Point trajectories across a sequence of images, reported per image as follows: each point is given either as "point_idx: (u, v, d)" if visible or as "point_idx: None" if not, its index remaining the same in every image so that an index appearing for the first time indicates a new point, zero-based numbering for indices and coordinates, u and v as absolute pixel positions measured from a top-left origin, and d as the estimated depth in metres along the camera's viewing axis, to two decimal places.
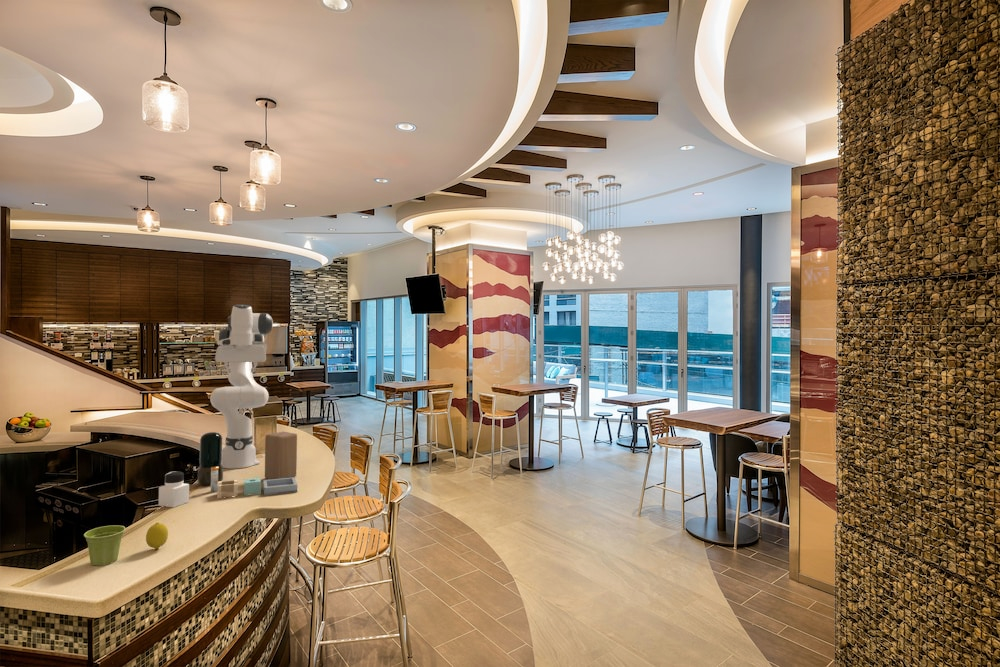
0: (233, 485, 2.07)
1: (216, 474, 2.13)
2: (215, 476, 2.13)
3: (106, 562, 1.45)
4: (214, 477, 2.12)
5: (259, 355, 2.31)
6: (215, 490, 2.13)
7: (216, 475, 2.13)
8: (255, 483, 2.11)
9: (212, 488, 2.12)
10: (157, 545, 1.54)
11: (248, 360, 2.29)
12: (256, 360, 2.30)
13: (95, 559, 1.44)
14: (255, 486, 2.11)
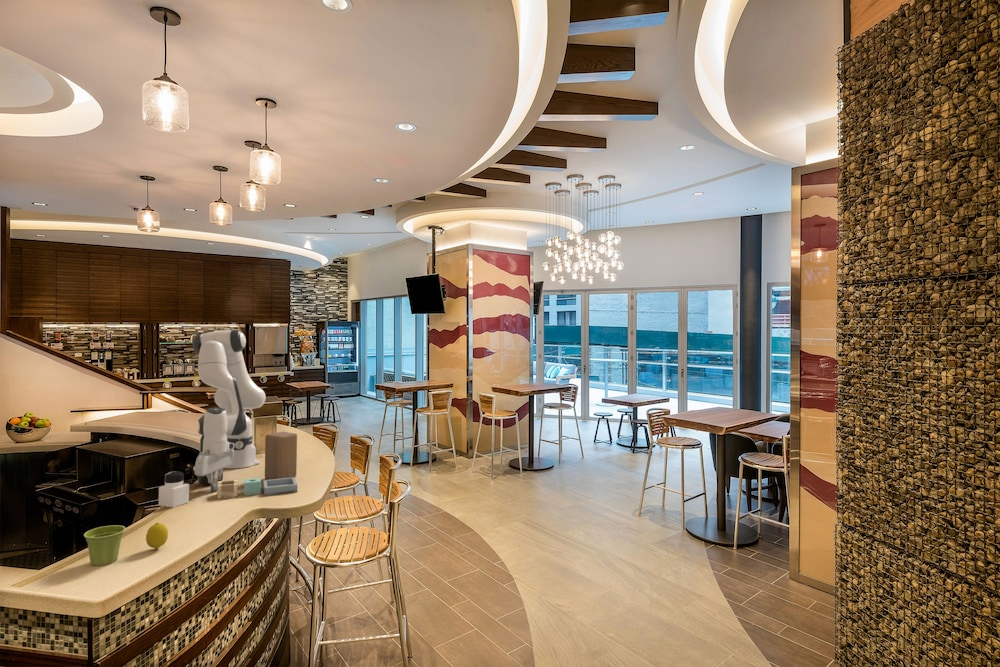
0: (233, 485, 2.07)
1: (216, 474, 2.13)
2: (215, 476, 2.13)
3: (106, 562, 1.45)
4: (214, 477, 2.12)
5: None
6: (215, 490, 2.13)
7: (216, 475, 2.13)
8: (255, 483, 2.11)
9: (212, 488, 2.12)
10: (157, 545, 1.54)
11: None
12: None
13: (95, 559, 1.44)
14: (255, 486, 2.11)
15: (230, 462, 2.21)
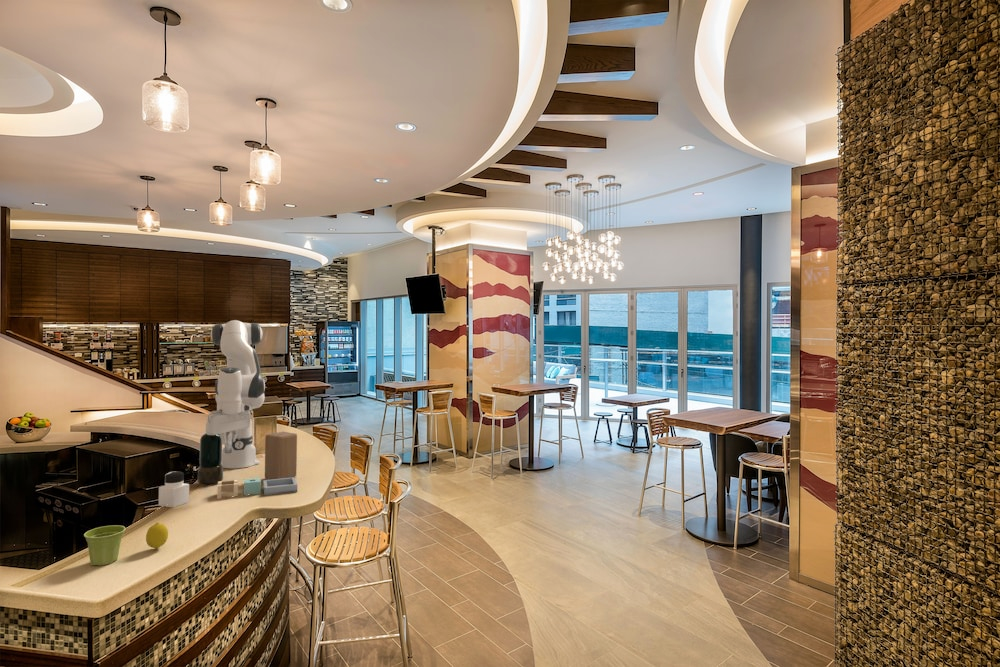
0: (233, 485, 2.07)
1: (230, 436, 2.08)
2: (229, 437, 2.08)
3: (106, 562, 1.45)
4: (228, 438, 2.08)
5: None
6: (229, 451, 2.08)
7: (230, 436, 2.08)
8: (255, 483, 2.11)
9: (226, 449, 2.08)
10: (157, 545, 1.54)
11: None
12: None
13: (95, 559, 1.44)
14: (255, 486, 2.11)
15: (246, 425, 2.16)
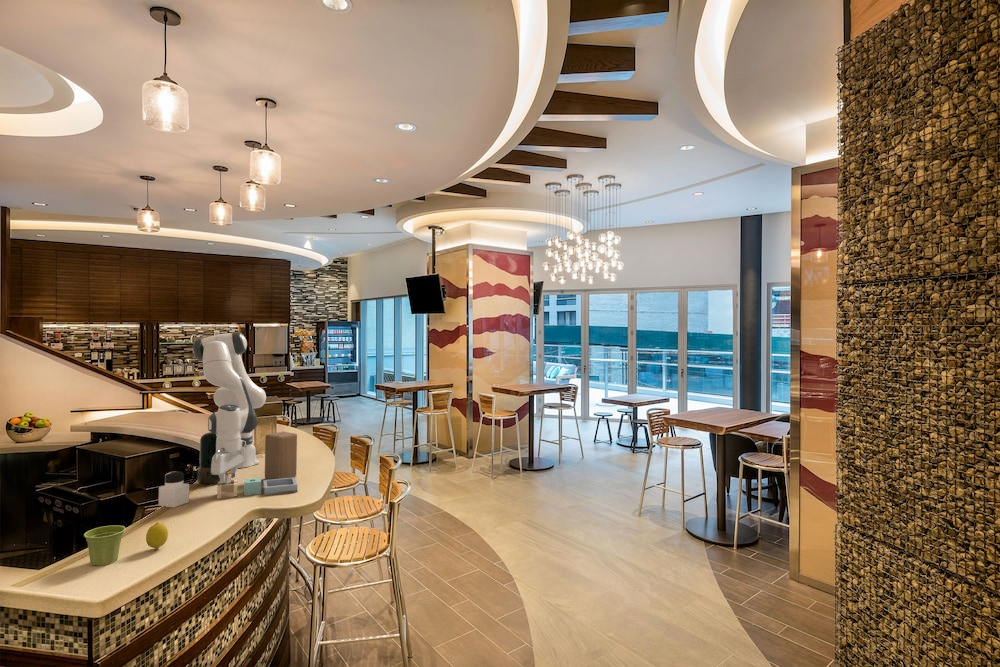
0: (233, 485, 2.07)
1: (229, 478, 2.08)
2: (228, 480, 2.08)
3: (106, 562, 1.45)
4: (228, 480, 2.08)
5: None
6: None
7: (229, 479, 2.08)
8: (255, 483, 2.11)
9: None
10: (157, 545, 1.54)
11: None
12: None
13: (95, 559, 1.44)
14: (255, 486, 2.11)
15: (241, 460, 2.17)
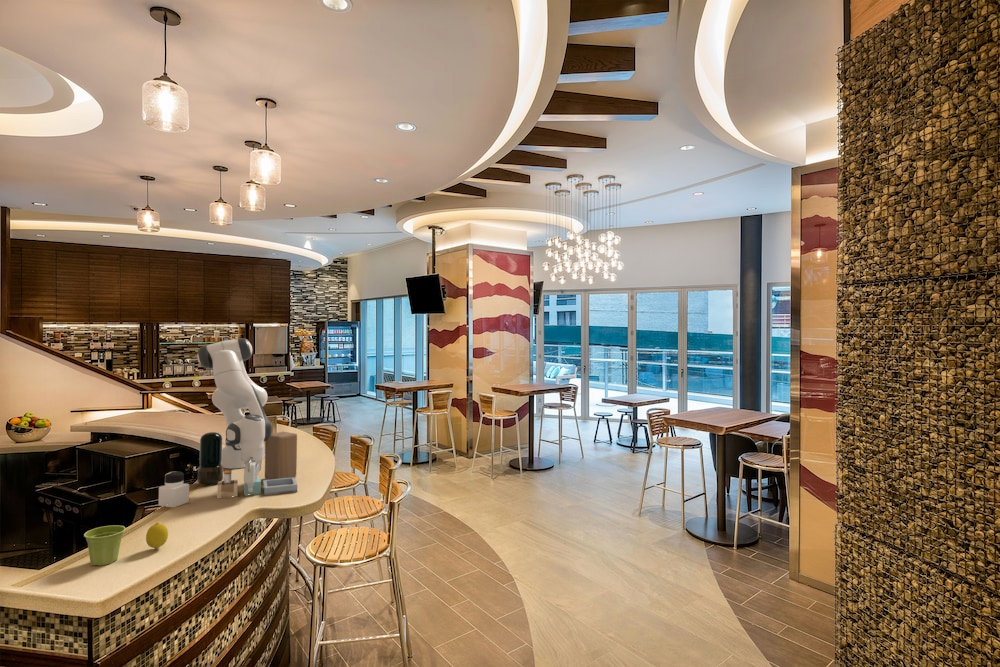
0: (233, 485, 2.07)
1: (230, 478, 2.08)
2: (229, 479, 2.08)
3: (106, 562, 1.45)
4: (228, 480, 2.08)
5: None
6: None
7: (229, 478, 2.08)
8: (255, 483, 2.11)
9: None
10: (157, 545, 1.54)
11: None
12: None
13: (95, 559, 1.44)
14: (255, 486, 2.11)
15: (260, 469, 2.21)
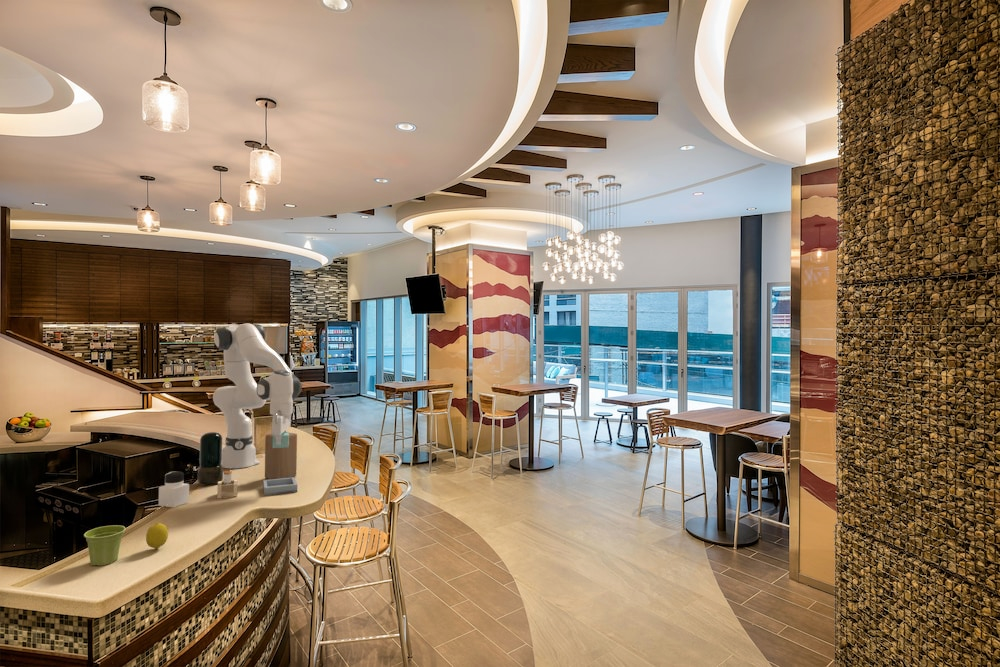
0: (233, 485, 2.07)
1: (230, 478, 2.08)
2: (229, 480, 2.08)
3: (106, 562, 1.45)
4: (228, 480, 2.08)
5: None
6: None
7: (230, 478, 2.08)
8: (283, 436, 2.15)
9: None
10: (157, 545, 1.54)
11: None
12: None
13: (95, 559, 1.44)
14: (283, 439, 2.15)
15: (289, 425, 2.26)
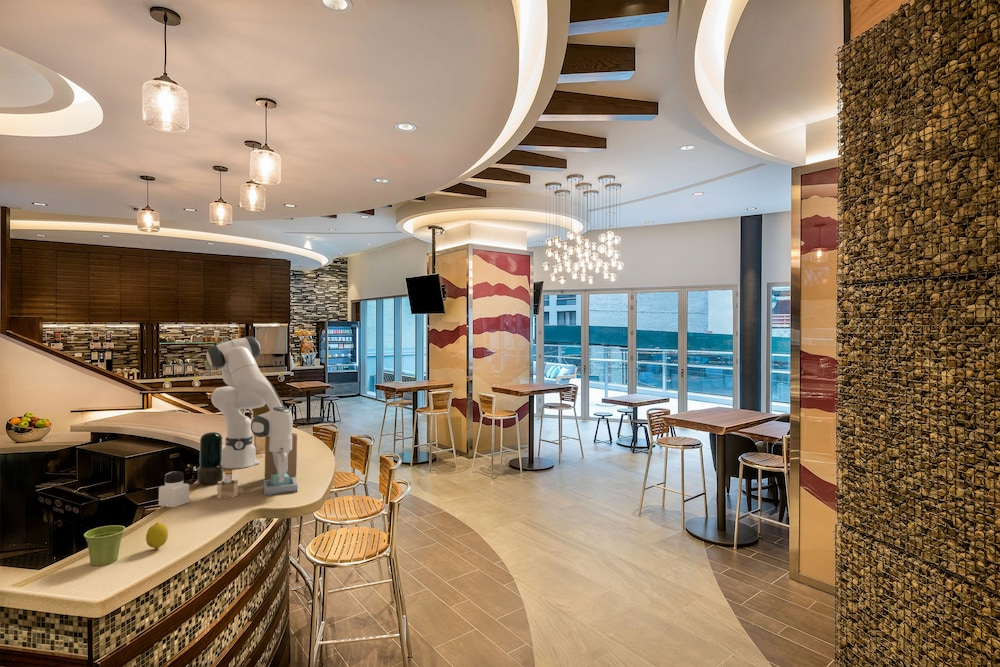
0: (233, 485, 2.07)
1: (230, 478, 2.08)
2: (229, 480, 2.08)
3: (106, 562, 1.45)
4: (228, 480, 2.08)
5: (277, 465, 2.10)
6: None
7: (230, 478, 2.08)
8: (284, 478, 2.16)
9: None
10: (157, 545, 1.54)
11: (276, 468, 2.14)
12: (277, 470, 2.11)
13: (95, 559, 1.44)
14: (284, 481, 2.16)
15: None
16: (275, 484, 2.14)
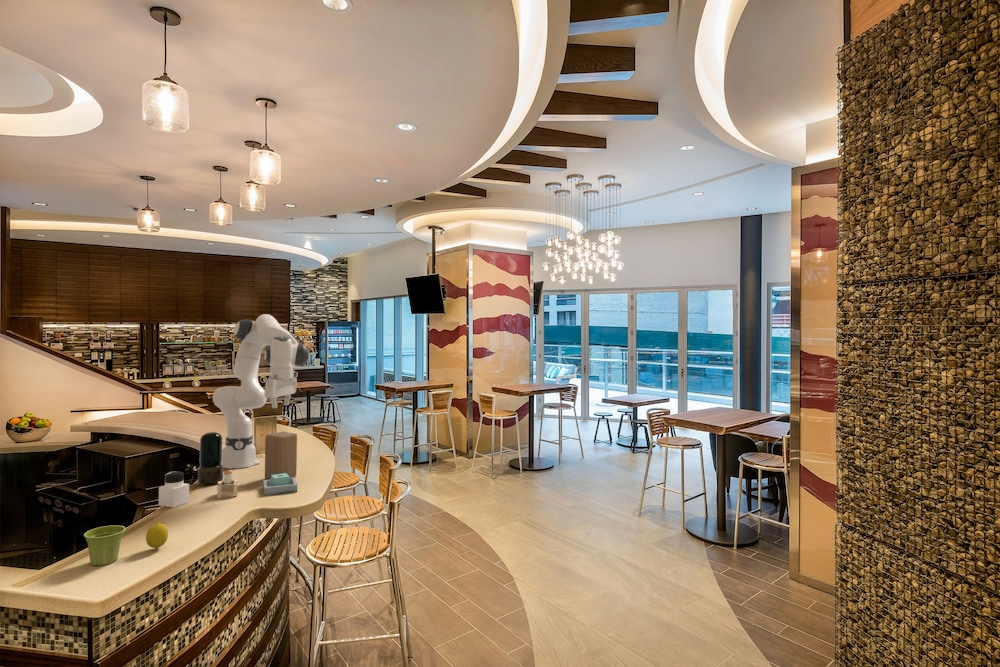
0: (233, 485, 2.07)
1: (230, 478, 2.08)
2: (229, 480, 2.08)
3: (106, 562, 1.45)
4: (228, 480, 2.08)
5: None
6: None
7: (230, 479, 2.08)
8: (284, 478, 2.16)
9: None
10: (157, 545, 1.54)
11: None
12: None
13: (95, 559, 1.44)
14: (284, 481, 2.16)
15: (293, 390, 2.31)
16: (275, 484, 2.14)
